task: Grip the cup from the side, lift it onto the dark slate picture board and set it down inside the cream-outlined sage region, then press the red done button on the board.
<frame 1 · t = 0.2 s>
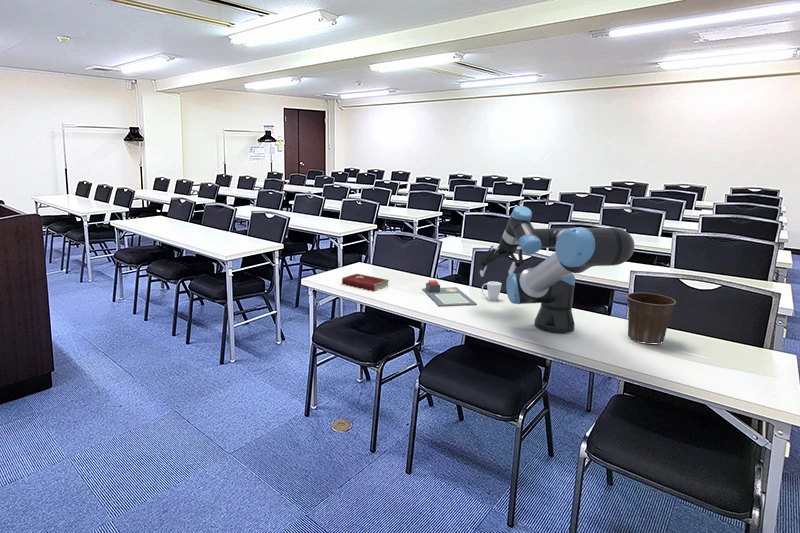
hand: (495, 274, 211), 15 cm above the table, tool tilted 35°, fingers open, 13 cm apart
cup: (490, 299, 226), on the table
picture board: (448, 296, 227), on the table
button housing: (432, 292, 235), resting on picture board
plant pot: (644, 339, 180), on the table
done button: (433, 284, 234), point 4 cm above the table, slide at 0.0 cm
hardcover book: (365, 286, 243), on the table
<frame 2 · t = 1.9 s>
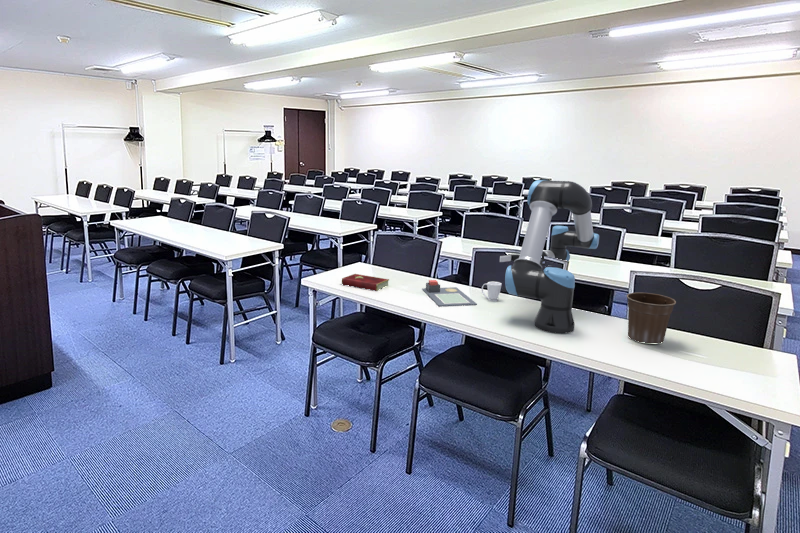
hand: (509, 262, 227), 17 cm above the table, tool horizontal, fingers open, 13 cm apart
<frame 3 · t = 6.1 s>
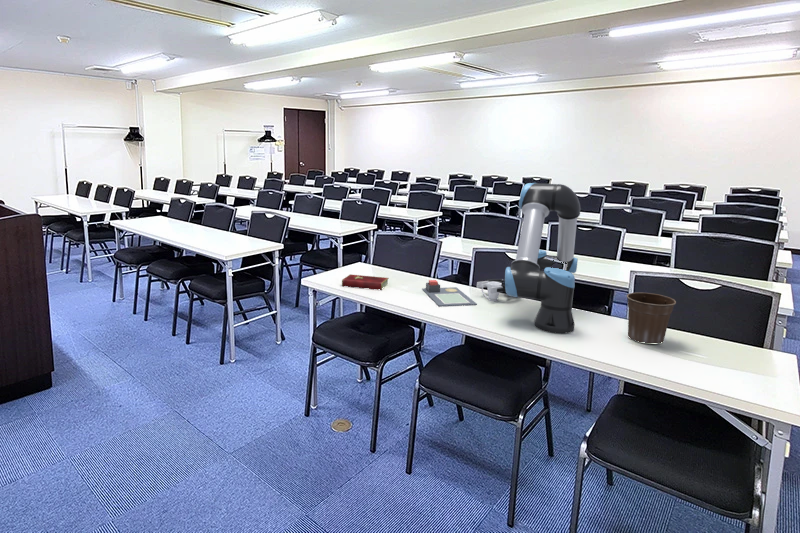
hand: (483, 287, 223), 6 cm above the table, tool horizontal, fingers closed on cup, 9 cm apart
cup: (490, 299, 226), on the table, touching gripper
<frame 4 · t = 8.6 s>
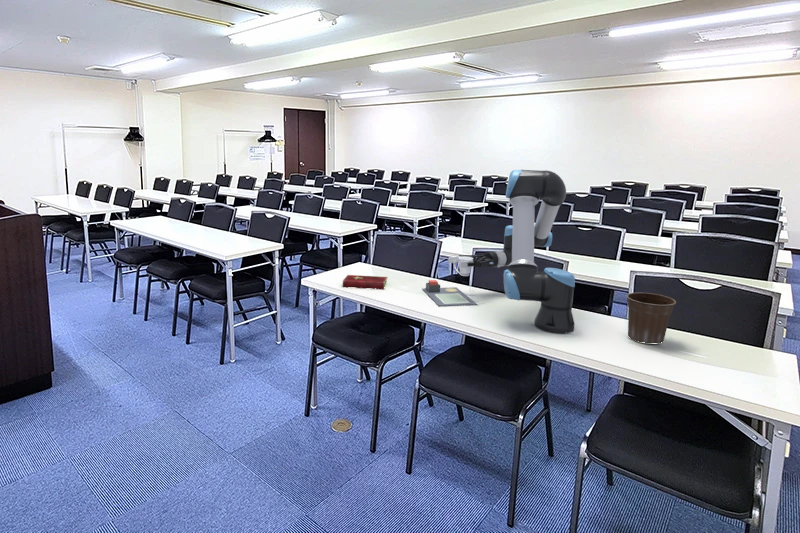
hand: (454, 262, 219), 18 cm above the table, tool horizontal, fingers closed on cup, 9 cm apart
cup: (462, 274, 222), point 12 cm above the table, touching gripper
when the fingers open (8 cm above the table, at t = 11.3 s): cup drops 2 cm, resting on picture board.
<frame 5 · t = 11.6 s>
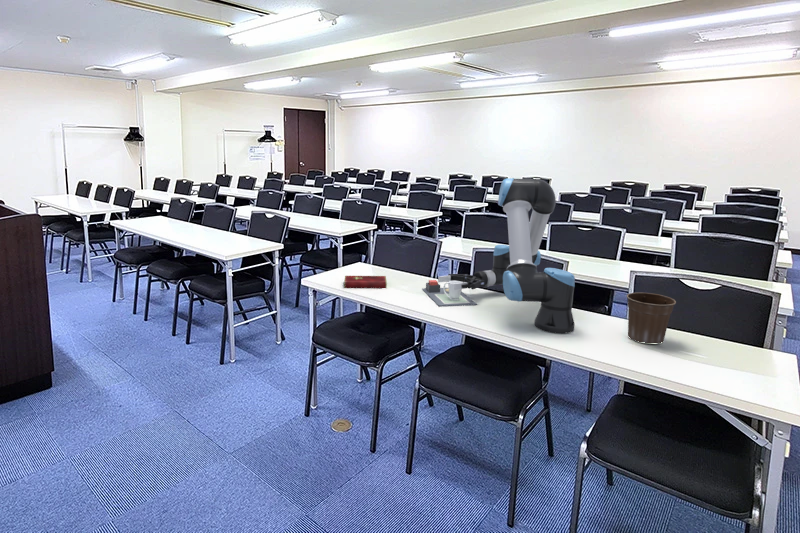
hand: (446, 283, 219), 8 cm above the table, tool horizontal, fingers open, 13 cm apart
cup: (451, 298, 223), point 1 cm above the table, touching picture board
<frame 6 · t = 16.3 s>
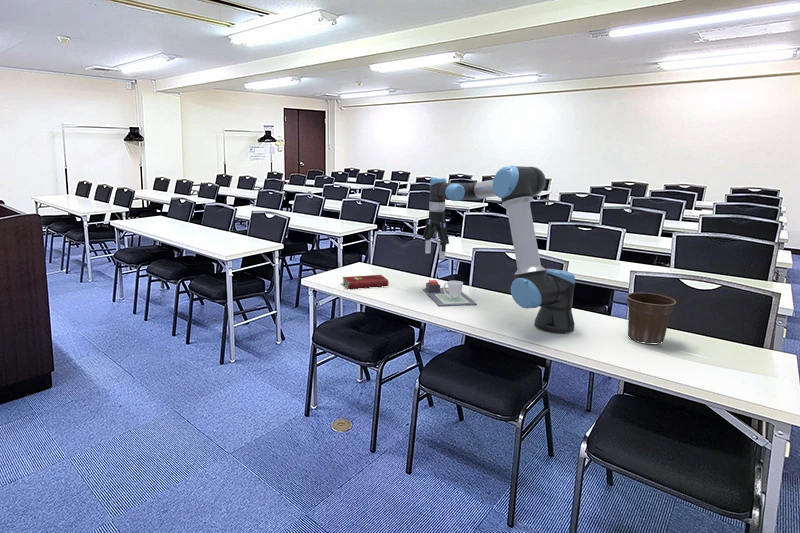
hand: (434, 255, 231), 18 cm above the table, tool pointing down, fingers open, 12 cm apart
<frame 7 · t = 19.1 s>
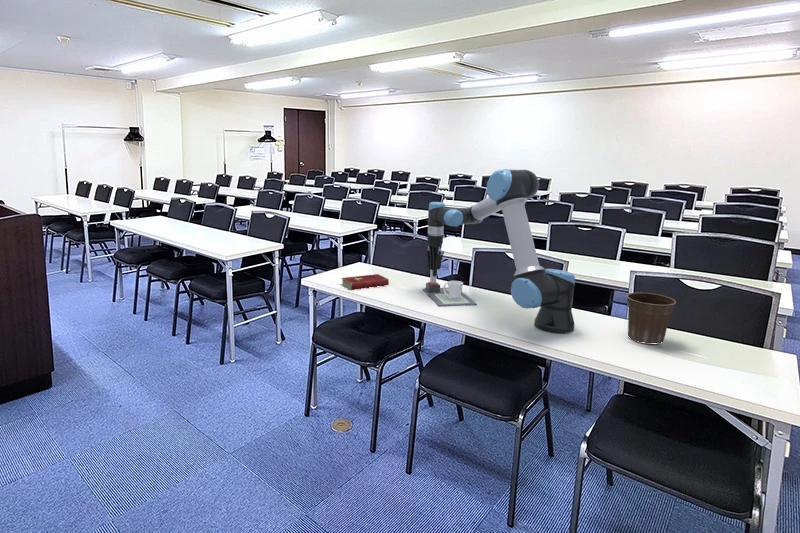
hand: (433, 282, 234), 5 cm above the table, tool pointing down, fingers closed
done button: (433, 285, 234), point 3 cm above the table, slide at 0.9 cm, touching gripper
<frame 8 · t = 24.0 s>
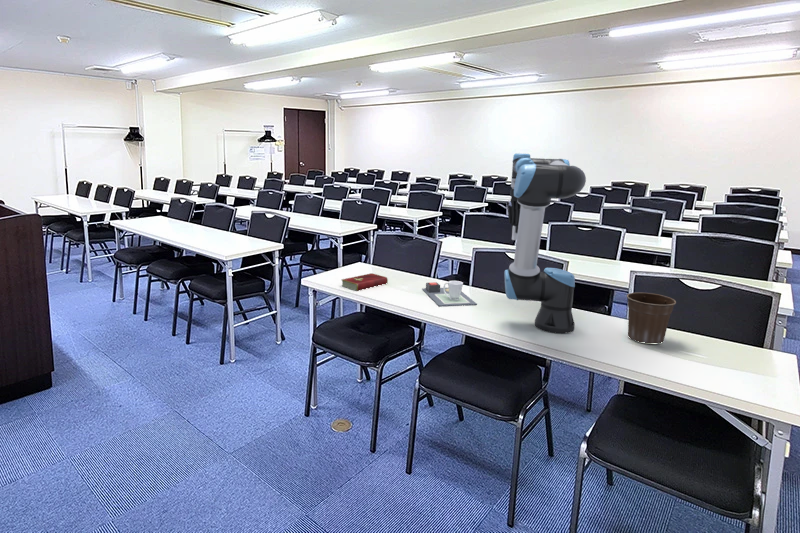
hand: (514, 239, 222), 28 cm above the table, tool pointing down, fingers closed
done button: (433, 286, 234), point 3 cm above the table, slide at 1.2 cm
at the end: cup 0.1 cm from the target spot on the picture board, point 0.5 cm above the picture board's base; cup tilted 0°; done button slide at 1.2 cm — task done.
